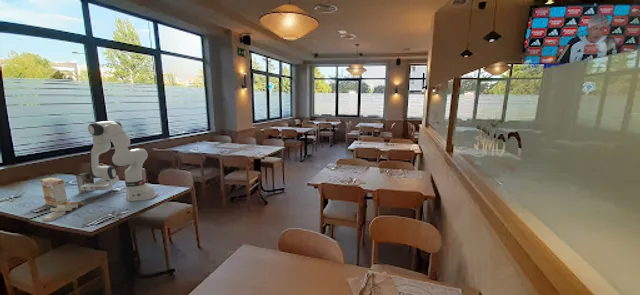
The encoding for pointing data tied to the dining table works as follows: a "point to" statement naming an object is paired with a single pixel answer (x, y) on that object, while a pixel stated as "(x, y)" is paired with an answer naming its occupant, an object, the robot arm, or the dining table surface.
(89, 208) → the dining table surface
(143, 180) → the robot arm
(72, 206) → the tile
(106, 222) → the dining table surface
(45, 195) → the coffeecake box
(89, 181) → the coffee box
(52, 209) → the tile
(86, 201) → the mat
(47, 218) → the tile
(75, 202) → the wooden block
